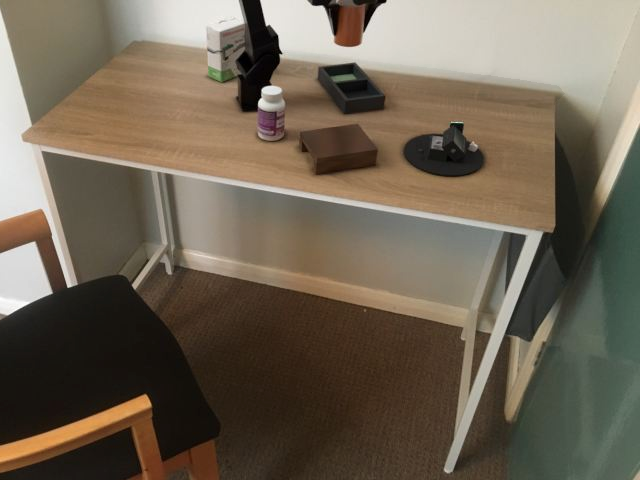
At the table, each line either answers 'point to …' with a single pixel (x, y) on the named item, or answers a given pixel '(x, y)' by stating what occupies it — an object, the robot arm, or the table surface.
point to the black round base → (444, 153)
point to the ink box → (224, 47)
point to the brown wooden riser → (338, 148)
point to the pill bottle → (271, 114)
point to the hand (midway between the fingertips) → (348, 33)
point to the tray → (351, 88)
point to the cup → (349, 23)
